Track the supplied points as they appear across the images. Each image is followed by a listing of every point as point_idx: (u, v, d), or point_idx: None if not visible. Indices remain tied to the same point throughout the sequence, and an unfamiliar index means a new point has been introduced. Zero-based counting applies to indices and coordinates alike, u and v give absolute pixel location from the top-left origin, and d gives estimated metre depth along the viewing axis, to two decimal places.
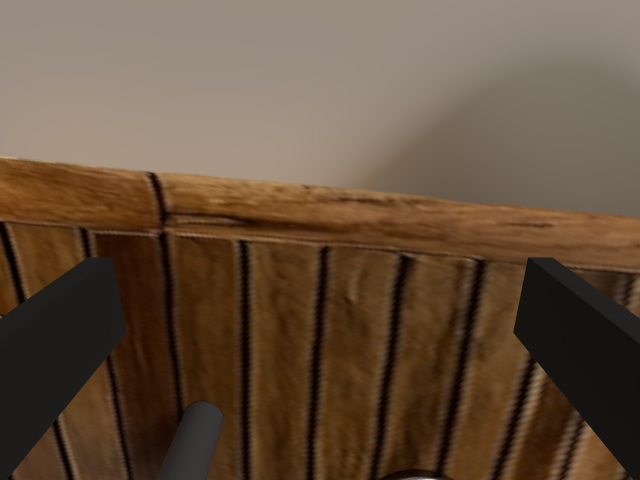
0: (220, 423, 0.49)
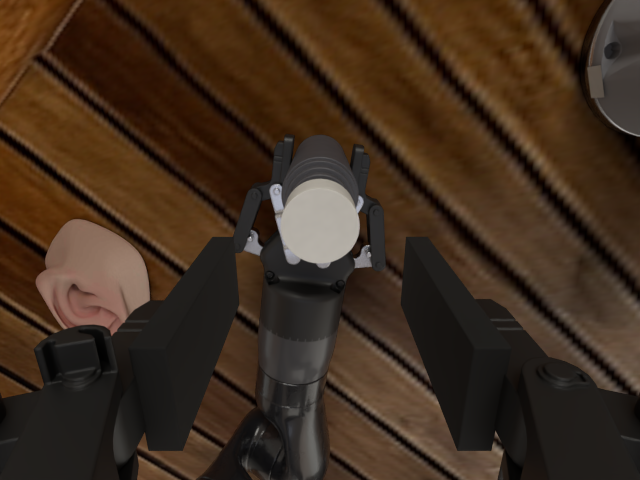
0: (335, 141, 0.37)
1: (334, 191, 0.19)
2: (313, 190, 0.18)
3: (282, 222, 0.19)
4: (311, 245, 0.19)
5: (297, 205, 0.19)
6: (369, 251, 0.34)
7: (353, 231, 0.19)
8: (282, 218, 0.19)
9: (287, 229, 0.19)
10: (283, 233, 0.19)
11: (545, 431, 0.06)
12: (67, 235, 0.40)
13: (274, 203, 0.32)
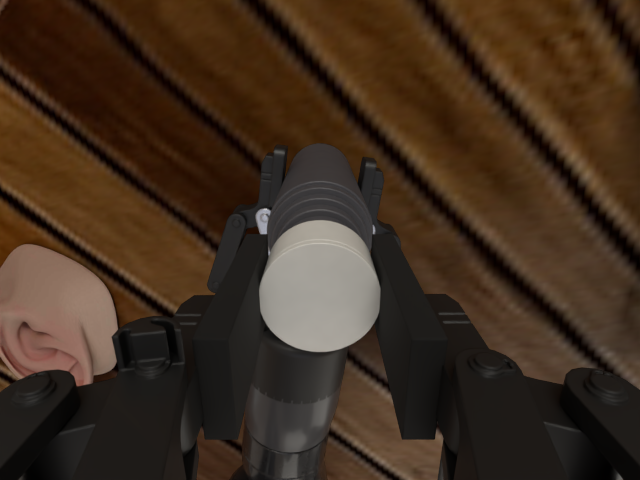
0: (338, 151, 0.30)
1: (342, 247, 0.12)
2: (309, 246, 0.12)
3: (261, 293, 0.12)
4: (306, 326, 0.13)
5: (284, 268, 0.12)
6: None
7: (371, 306, 0.12)
8: (261, 287, 0.12)
9: (269, 303, 0.12)
10: (263, 309, 0.12)
11: (474, 420, 0.06)
12: (15, 264, 0.33)
13: (262, 232, 0.25)
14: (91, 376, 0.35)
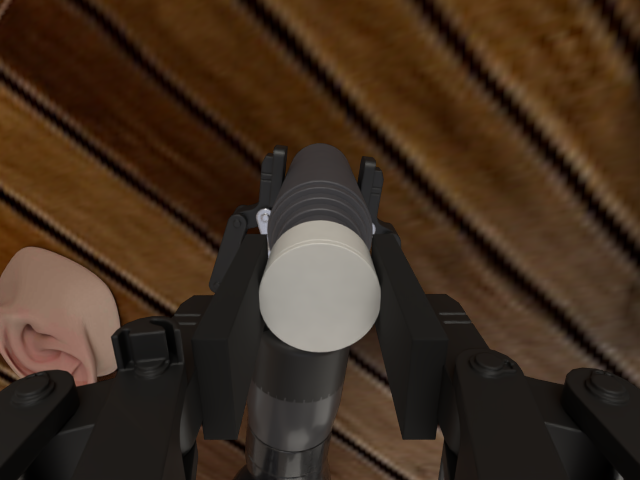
0: (338, 151, 0.30)
1: (266, 323, 0.13)
2: (288, 342, 0.13)
3: (355, 340, 0.13)
4: (350, 289, 0.12)
5: (321, 342, 0.13)
6: None
7: (284, 263, 0.12)
8: (351, 343, 0.13)
9: (358, 328, 0.13)
10: (367, 328, 0.13)
11: (475, 421, 0.06)
12: (18, 266, 0.34)
13: (262, 232, 0.25)
14: (95, 377, 0.35)
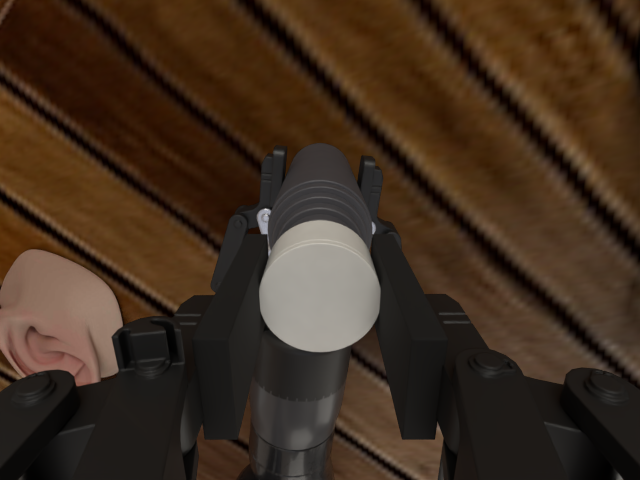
0: (338, 150, 0.30)
1: (376, 315, 0.13)
2: (377, 287, 0.12)
3: (324, 246, 0.12)
4: (288, 290, 0.12)
5: (353, 267, 0.12)
6: None
7: (317, 345, 0.13)
8: (330, 245, 0.12)
9: (312, 254, 0.12)
10: (305, 248, 0.12)
11: (474, 421, 0.06)
12: (22, 269, 0.34)
13: (263, 232, 0.26)
14: (98, 378, 0.35)
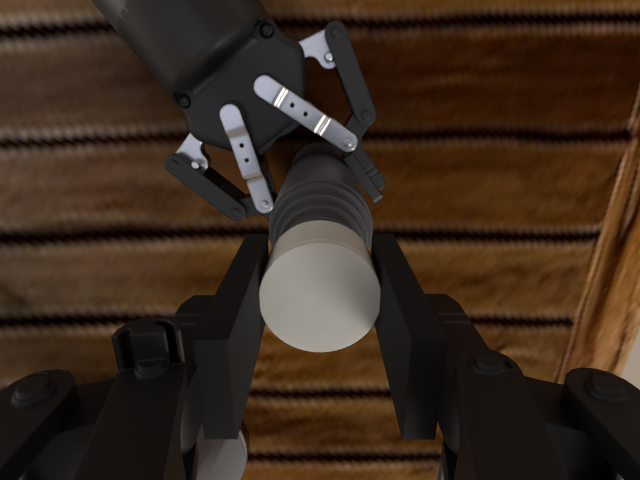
0: None
1: (376, 315, 0.13)
2: (377, 287, 0.12)
3: (324, 246, 0.12)
4: (288, 290, 0.12)
5: (353, 267, 0.12)
6: (198, 167, 0.25)
7: (317, 345, 0.13)
8: (330, 245, 0.12)
9: (312, 254, 0.12)
10: (305, 248, 0.12)
11: (474, 420, 0.06)
12: None
13: (338, 126, 0.23)
14: None
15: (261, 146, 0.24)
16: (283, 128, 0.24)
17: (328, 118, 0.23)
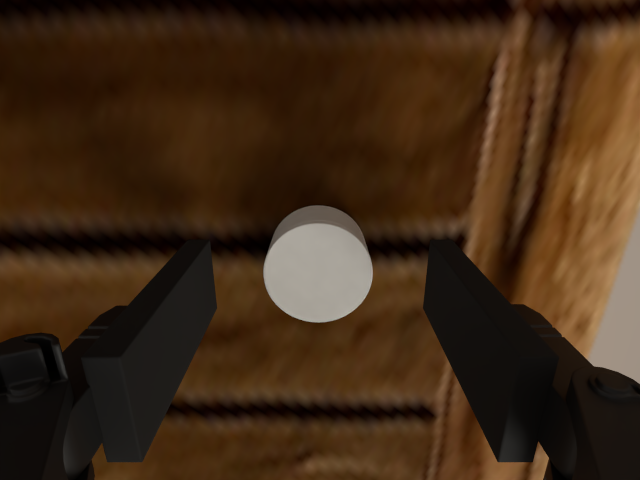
0: None
1: (368, 288, 0.14)
2: (369, 263, 0.14)
3: (321, 226, 0.13)
4: (290, 265, 0.14)
5: (347, 244, 0.13)
6: None
7: (315, 316, 0.14)
8: (327, 225, 0.13)
9: (311, 233, 0.13)
10: (305, 227, 0.13)
11: (598, 442, 0.06)
12: None
13: None
14: None
15: None
16: None
17: None
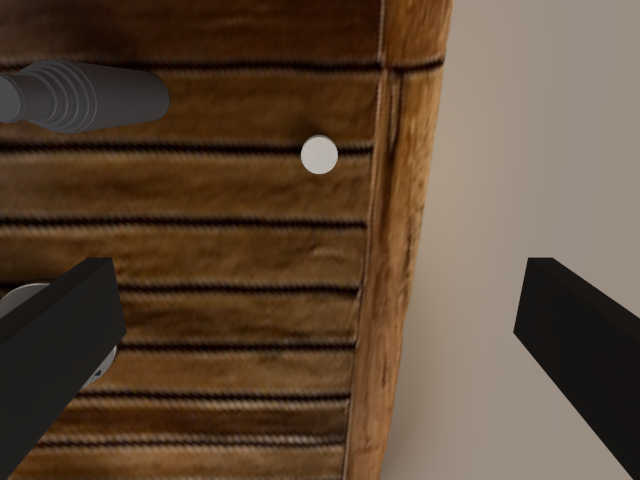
0: (148, 121, 0.41)
1: (336, 160, 0.42)
2: (336, 151, 0.41)
3: (320, 137, 0.41)
4: (310, 152, 0.41)
5: (329, 144, 0.41)
6: None
7: (318, 171, 0.42)
8: (322, 137, 0.41)
9: (317, 140, 0.41)
10: (315, 138, 0.41)
11: None
12: None
13: None
14: None
15: None
16: None
17: None
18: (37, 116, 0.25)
